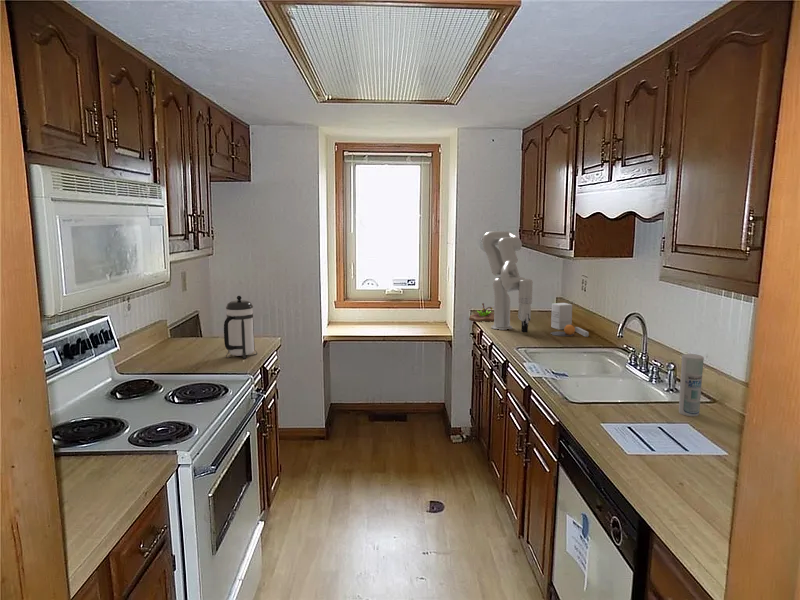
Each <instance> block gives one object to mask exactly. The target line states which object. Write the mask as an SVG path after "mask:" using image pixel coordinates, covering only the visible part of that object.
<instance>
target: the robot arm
mask: <svg viewBox="0 0 800 600" xmlns="http://www.w3.org/2000/svg"><path fill="white" fill-rule="evenodd" d="M481 241H482V246H483V247H482V248H483V249H484V252H485V254H486V256H487V259H488V263H489V266H490V271H491V273H492V274H493V275H494V276H498V277H495V278H494V279H493V282H492V287H493V297H494V299H493V301H494V302H493V303H494V304H493V305H494V307H493V308H494V309H493V314H494V322H493V324H492V325H491V329H493V330H497V329H499V331H505V330H507V329H509V330H512V329H513V325H511V298H510V295H509V292H510V293H512V292H513V293H514V292H518V313H517V317H518V319H519V320H520V321H521V333H523V334H524V333H525V334H526V333H528V331H529V328H528V327H529V322H530V321H531V318H532V317H531V316H532V307H531V306H532V305H531V304H533V280H532V279H531V278H525V277H521V275H520V271H519V269H518V266H517V263H518V259H519V258H518V256H517V252H519V251H520V250H521V249H522V246H523V243H522V240H521V239H520V237H519V236H517V235H516V234H513V233H512V232H510V231H508V230H492V231H491V230H490V231H487V232H485V233H484V234H483V237H482V240H481ZM497 246H498V247H497Z"/></svg>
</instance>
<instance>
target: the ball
mask: <svg viewBox="0 0 800 600" xmlns="http://www.w3.org/2000/svg"><path fill="white" fill-rule="evenodd" d="M563 332H565V333H566V334H567V335H572V334H575V326H574V325H573V324H572V325H566V326H565V328H564V329H563Z"/></svg>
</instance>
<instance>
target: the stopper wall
mask: <svg viewBox="0 0 800 600" xmlns="http://www.w3.org/2000/svg"><path fill="white" fill-rule="evenodd" d="M574 328H575V332H576V333H578V334H580V335H582V336H583V337H585V338H586V337H589V335H590V334H589V331H587V330H586V329H583V328H581V327H579V326H574ZM575 332H574V333H575Z"/></svg>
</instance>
